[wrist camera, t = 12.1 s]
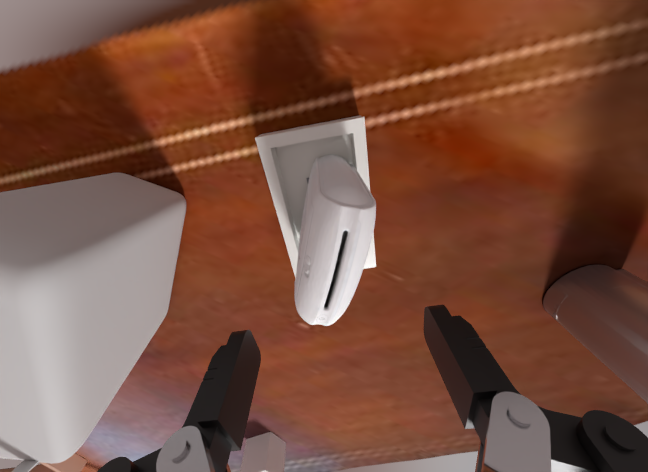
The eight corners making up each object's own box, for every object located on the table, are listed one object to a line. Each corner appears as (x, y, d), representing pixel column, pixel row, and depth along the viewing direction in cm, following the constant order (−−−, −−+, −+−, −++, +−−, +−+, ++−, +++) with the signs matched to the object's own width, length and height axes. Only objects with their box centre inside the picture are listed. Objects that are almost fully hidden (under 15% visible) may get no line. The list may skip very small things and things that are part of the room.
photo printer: (334, 249, 27) (348, 345, 17) (296, 244, 27) (286, 339, 16) (357, 158, 23) (399, 209, 12) (312, 149, 22) (313, 194, 11)
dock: (359, 115, 21) (364, 117, 19) (371, 253, 29) (376, 266, 26) (261, 134, 22) (254, 138, 20) (297, 265, 29) (296, 279, 27)
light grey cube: (246, 438, 51) (238, 477, 45) (270, 430, 49) (265, 470, 44) (263, 449, 53) (257, 487, 48) (286, 442, 52) (283, 480, 47)
